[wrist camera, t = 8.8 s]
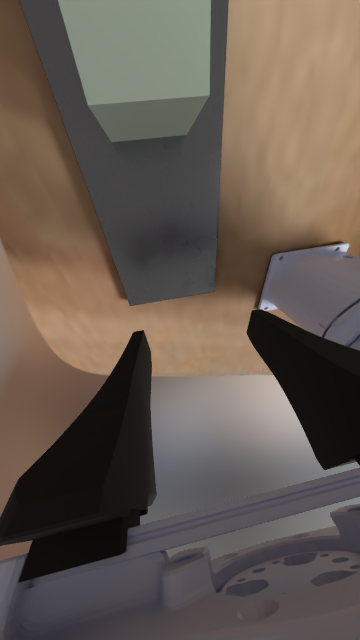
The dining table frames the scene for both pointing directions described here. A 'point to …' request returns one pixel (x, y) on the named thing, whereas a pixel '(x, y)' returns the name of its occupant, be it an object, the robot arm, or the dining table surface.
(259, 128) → the dining table surface
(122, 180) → the base plate
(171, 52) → the sage green cube
